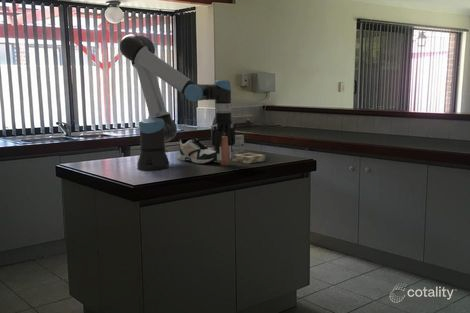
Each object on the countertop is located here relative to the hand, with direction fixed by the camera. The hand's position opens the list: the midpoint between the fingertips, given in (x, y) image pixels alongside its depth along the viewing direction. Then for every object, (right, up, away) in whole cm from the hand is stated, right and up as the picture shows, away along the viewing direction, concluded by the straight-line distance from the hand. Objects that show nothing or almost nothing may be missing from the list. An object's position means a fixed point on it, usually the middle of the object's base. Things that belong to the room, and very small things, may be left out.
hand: (224, 159), depth 236 cm
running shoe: (-14, -2, +12) cm, 18 cm away
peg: (0, -3, 0) cm, 3 cm away
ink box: (+6, +1, +26) cm, 27 cm away
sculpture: (-1, +3, +38) cm, 38 cm away
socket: (+13, -1, +12) cm, 17 cm away
